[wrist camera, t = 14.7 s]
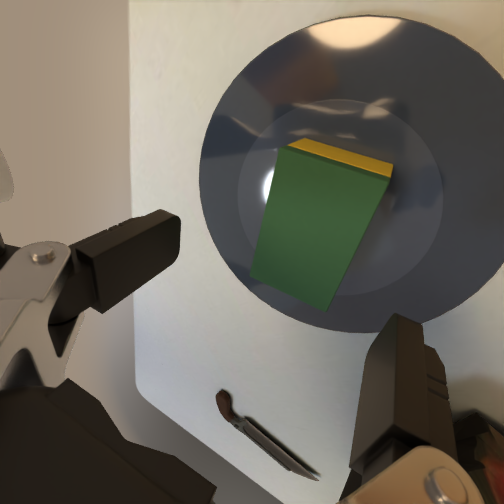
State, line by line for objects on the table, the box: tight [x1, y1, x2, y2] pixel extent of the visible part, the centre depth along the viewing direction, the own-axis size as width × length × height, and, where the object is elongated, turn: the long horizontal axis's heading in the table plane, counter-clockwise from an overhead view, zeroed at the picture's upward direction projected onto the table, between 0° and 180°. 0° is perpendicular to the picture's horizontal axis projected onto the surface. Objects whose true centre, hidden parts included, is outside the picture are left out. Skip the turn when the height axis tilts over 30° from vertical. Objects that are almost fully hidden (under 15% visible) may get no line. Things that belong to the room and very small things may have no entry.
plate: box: [199, 15, 504, 333], centre depth 16 cm, size 17×17×1 cm
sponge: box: [250, 138, 393, 312], centre depth 14 cm, size 4×7×4 cm, turn 168°
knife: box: [216, 391, 319, 481], centre depth 31 cm, size 14×4×1 cm, turn 63°
